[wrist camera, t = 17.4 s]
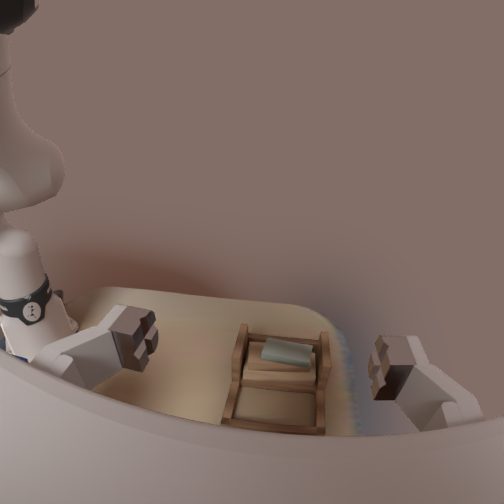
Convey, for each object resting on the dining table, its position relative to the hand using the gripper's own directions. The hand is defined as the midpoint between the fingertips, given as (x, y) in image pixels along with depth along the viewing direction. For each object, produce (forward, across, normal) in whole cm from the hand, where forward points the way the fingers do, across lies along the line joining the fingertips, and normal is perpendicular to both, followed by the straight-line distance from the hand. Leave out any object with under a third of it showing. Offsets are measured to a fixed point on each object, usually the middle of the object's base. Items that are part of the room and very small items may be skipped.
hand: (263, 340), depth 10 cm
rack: (+24, -2, +32) cm, 40 cm away
